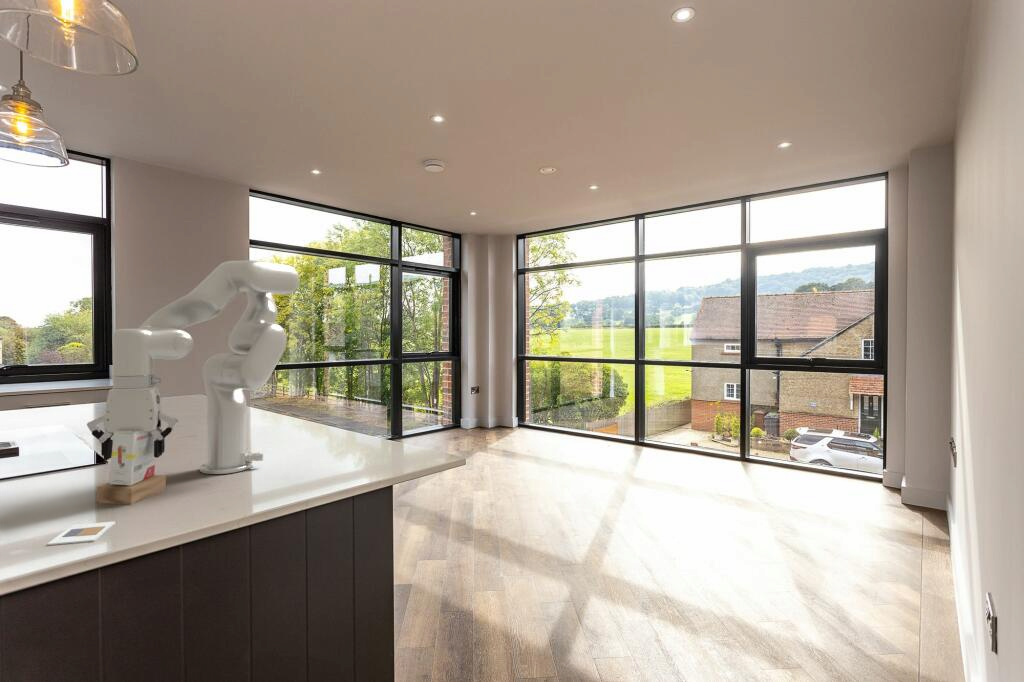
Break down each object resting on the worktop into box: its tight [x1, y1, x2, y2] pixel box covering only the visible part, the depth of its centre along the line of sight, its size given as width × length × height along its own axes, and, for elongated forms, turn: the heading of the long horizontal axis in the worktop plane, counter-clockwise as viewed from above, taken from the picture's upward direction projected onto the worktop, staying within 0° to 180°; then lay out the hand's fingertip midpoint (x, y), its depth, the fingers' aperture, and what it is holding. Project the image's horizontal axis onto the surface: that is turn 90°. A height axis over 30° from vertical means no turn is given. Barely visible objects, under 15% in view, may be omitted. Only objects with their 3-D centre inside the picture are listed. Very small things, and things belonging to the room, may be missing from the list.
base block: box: [96, 474, 167, 505], centre depth 117 cm, size 8×10×4 cm
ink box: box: [108, 431, 156, 486], centre depth 117 cm, size 9×5×12 cm, turn 3°
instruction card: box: [46, 520, 117, 546], centre depth 96 cm, size 7×9×1 cm
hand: (133, 457), depth 117 cm, fingers open, 9 cm apart
